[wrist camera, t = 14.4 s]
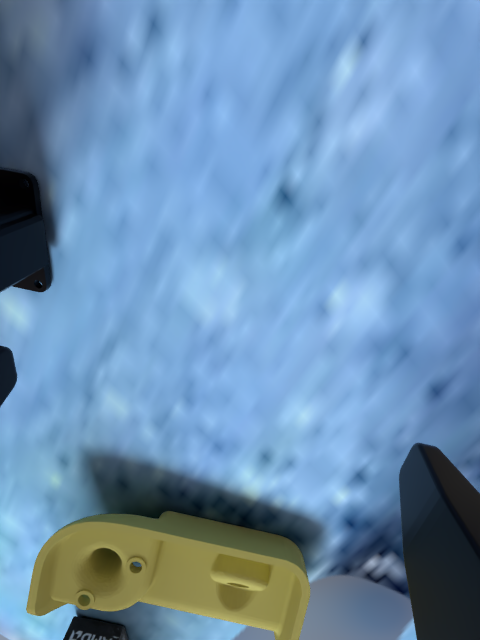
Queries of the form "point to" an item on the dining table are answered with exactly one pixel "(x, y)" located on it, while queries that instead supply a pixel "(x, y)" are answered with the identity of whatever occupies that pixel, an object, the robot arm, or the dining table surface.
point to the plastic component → (174, 570)
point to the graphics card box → (94, 630)
